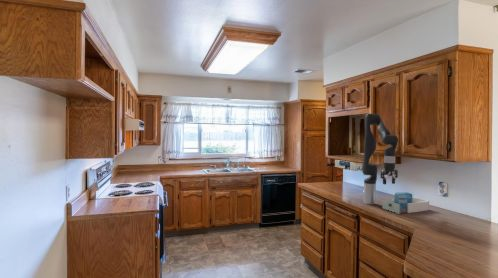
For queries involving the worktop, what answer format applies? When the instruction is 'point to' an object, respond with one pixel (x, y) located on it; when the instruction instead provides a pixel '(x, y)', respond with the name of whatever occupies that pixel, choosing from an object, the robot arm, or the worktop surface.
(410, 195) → the data package
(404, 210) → the drawer
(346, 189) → the worktop surface
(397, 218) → the worktop surface
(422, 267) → the worktop surface
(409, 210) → the cubby
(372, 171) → the robot arm
